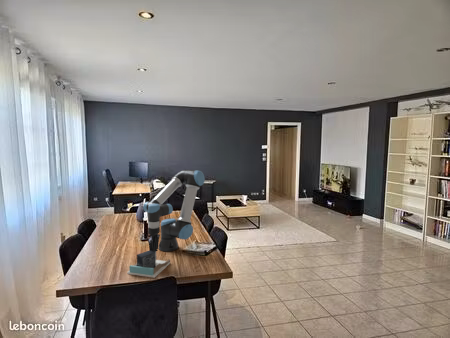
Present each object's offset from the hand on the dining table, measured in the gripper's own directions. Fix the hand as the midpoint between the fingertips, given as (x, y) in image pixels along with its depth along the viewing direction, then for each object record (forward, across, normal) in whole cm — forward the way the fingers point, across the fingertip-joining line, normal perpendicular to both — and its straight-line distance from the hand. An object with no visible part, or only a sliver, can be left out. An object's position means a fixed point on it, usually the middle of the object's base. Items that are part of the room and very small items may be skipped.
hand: (154, 260), depth 192 cm
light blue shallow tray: (+3, +6, 0) cm, 7 cm away
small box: (+2, +10, 0) cm, 10 cm away
